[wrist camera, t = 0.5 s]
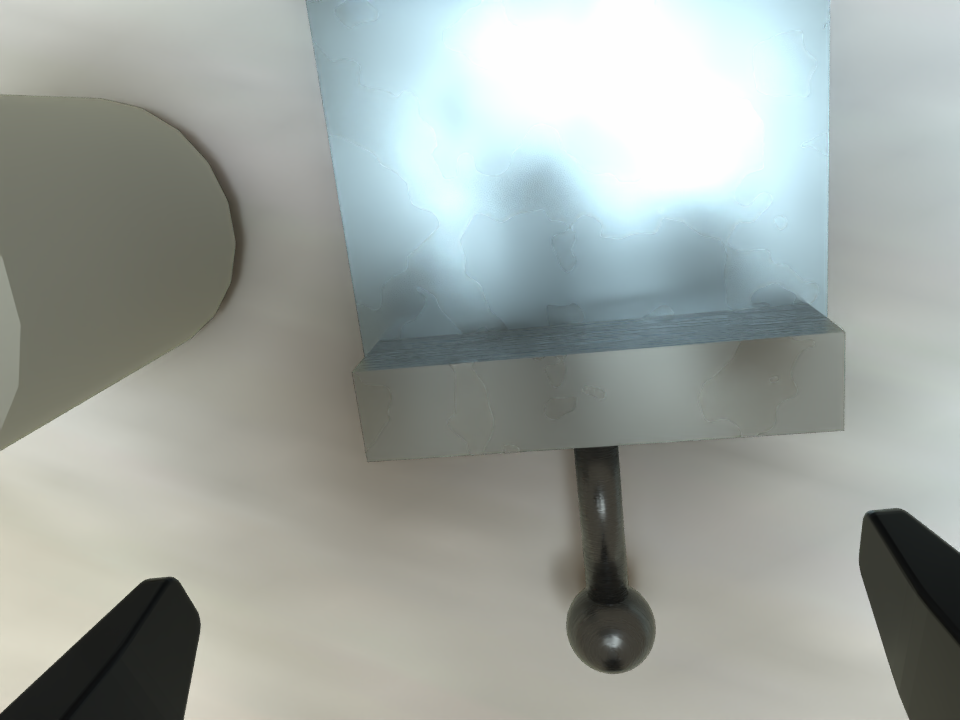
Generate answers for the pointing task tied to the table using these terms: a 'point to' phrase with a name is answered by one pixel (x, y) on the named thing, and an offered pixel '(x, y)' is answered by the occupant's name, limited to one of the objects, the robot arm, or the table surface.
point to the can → (98, 250)
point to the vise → (584, 238)
